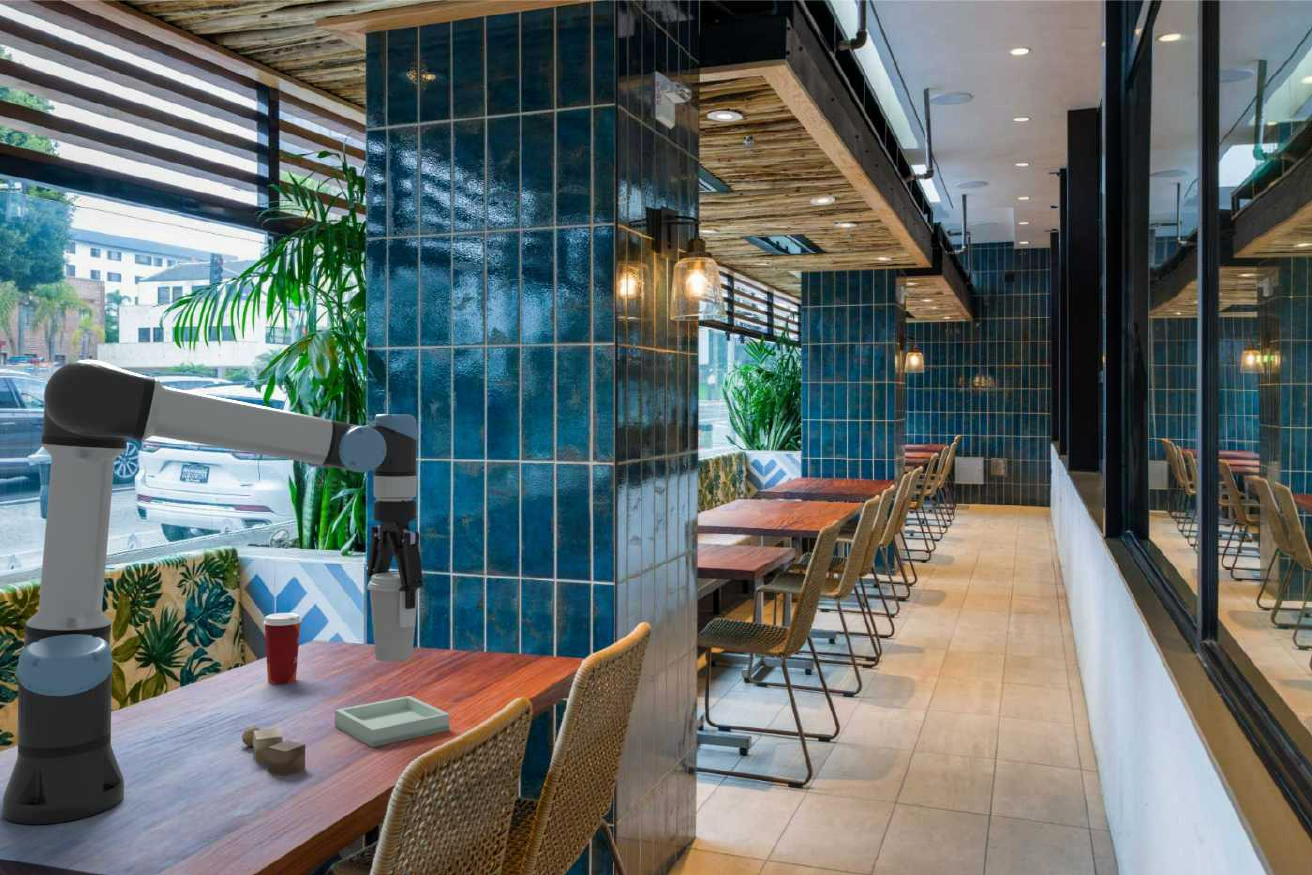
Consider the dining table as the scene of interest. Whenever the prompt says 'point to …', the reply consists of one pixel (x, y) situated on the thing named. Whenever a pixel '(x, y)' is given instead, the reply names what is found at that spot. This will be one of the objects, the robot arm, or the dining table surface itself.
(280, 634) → the paper cup
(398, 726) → the tray
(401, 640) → the coffee cup
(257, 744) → the beech block
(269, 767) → the walnut block
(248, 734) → the cork ball
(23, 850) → the dining table surface
